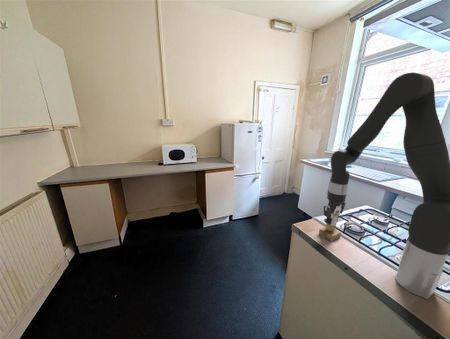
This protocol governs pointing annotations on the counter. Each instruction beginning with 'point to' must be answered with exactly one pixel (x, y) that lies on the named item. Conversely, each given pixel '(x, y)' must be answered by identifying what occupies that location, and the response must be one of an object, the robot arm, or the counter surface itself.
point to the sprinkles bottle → (333, 220)
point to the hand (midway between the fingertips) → (331, 222)
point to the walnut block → (329, 234)
